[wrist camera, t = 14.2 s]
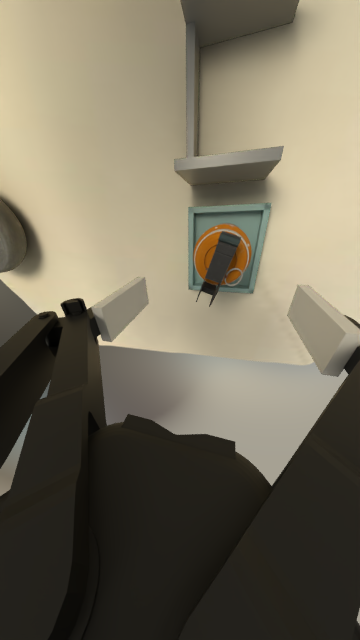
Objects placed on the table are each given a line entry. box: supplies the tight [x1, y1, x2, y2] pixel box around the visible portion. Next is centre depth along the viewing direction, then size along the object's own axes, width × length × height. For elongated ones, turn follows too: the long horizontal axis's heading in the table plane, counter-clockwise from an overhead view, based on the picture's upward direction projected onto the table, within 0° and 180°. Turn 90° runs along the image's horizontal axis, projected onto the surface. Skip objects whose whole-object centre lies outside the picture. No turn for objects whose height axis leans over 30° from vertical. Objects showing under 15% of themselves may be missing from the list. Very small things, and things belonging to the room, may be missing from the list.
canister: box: [193, 223, 252, 307], centre depth 29 cm, size 9×11×20 cm
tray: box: [188, 203, 271, 293], centre depth 37 cm, size 17×15×3 cm
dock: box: [174, 0, 299, 185], centre depth 23 cm, size 17×14×12 cm
